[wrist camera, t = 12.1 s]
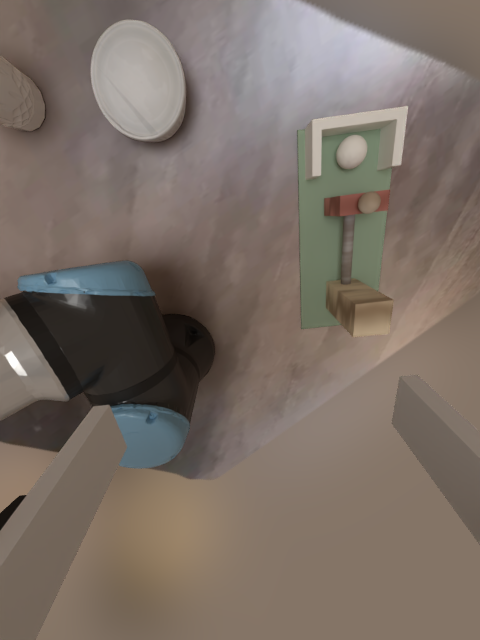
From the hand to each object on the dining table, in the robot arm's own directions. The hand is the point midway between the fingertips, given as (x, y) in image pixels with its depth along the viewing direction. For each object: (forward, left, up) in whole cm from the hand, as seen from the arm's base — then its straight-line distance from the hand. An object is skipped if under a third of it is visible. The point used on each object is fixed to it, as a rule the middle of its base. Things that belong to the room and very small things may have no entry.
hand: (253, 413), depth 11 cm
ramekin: (+24, +10, -35) cm, 44 cm away
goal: (+16, -17, -35) cm, 42 cm away
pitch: (+2, -17, -35) cm, 39 cm away
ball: (+14, -17, -32) cm, 39 cm away
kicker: (0, -17, -34) cm, 38 cm away
